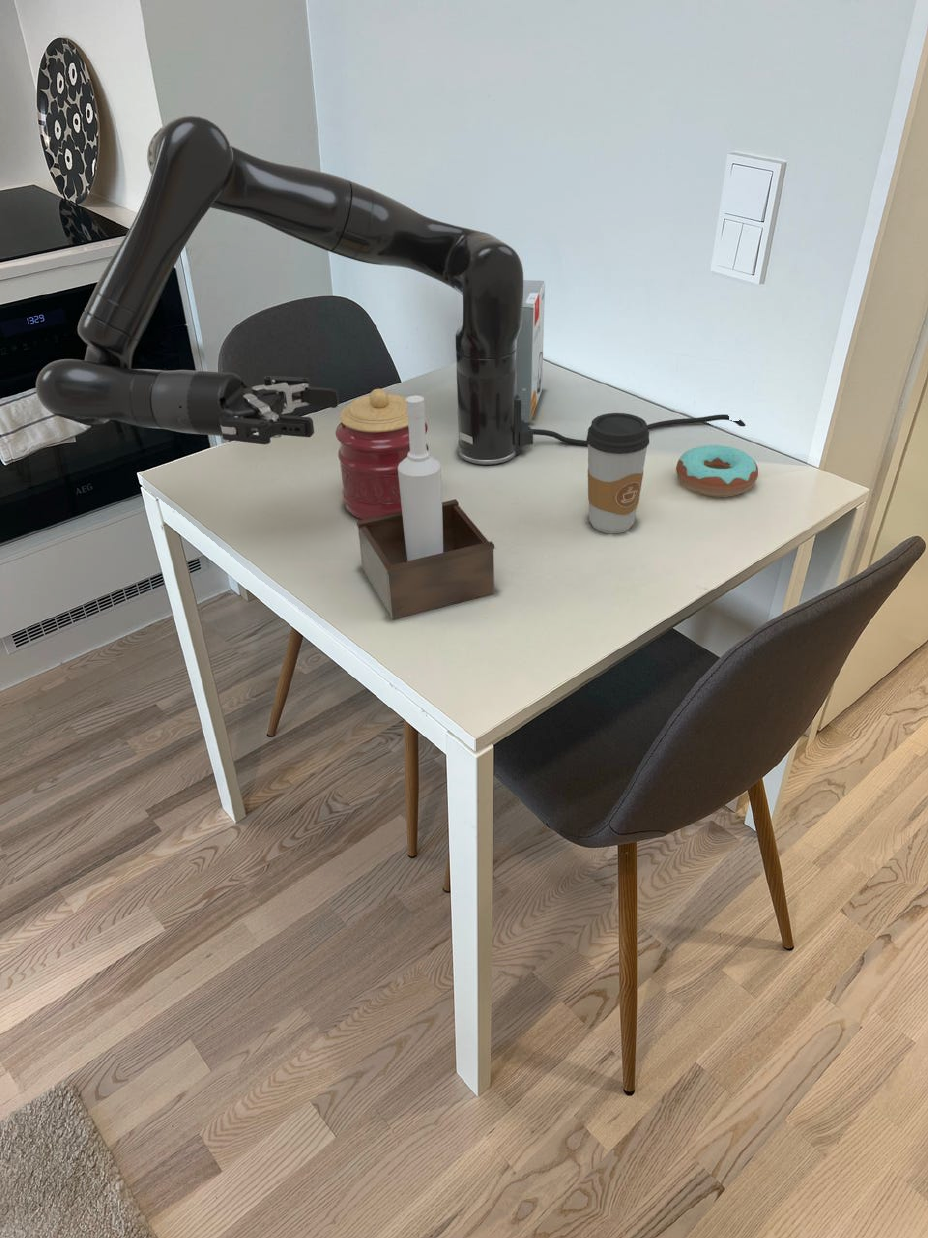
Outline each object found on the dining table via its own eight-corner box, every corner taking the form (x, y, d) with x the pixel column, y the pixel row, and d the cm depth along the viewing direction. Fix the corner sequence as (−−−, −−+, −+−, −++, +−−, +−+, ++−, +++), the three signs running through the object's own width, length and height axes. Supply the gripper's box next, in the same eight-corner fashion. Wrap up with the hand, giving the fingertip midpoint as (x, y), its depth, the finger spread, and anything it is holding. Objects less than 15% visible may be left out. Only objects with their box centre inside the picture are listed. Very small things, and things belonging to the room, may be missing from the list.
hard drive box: (531, 425, 159) (533, 307, 147) (487, 422, 160) (485, 306, 148) (543, 389, 171) (545, 278, 159) (502, 387, 172) (501, 277, 161)
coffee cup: (603, 543, 127) (610, 442, 118) (570, 517, 133) (574, 419, 124) (653, 528, 130) (664, 428, 121) (618, 503, 136) (626, 406, 127)
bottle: (406, 571, 123) (391, 391, 108) (445, 568, 123) (436, 388, 108) (407, 593, 119) (392, 409, 104) (447, 590, 119) (439, 406, 104)
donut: (682, 502, 136) (685, 477, 133) (668, 465, 145) (671, 441, 143) (764, 500, 135) (769, 476, 133) (745, 463, 145) (749, 439, 143)
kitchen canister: (411, 530, 131) (402, 413, 121) (328, 517, 135) (314, 402, 125) (444, 489, 141) (439, 377, 131) (366, 477, 145) (356, 367, 135)
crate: (457, 545, 128) (455, 498, 123) (495, 594, 118) (494, 544, 114) (361, 568, 124) (356, 520, 119) (392, 620, 114) (387, 570, 110)
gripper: (165, 396, 105) (299, 406, 102) (220, 351, 116) (342, 359, 113) (178, 456, 110) (307, 468, 106) (230, 408, 121) (348, 417, 118)
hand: (325, 412), depth 110 cm, fingers open, 8 cm apart
